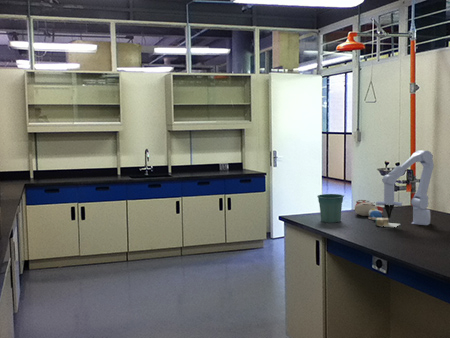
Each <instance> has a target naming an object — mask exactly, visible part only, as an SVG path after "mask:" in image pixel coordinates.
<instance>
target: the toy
mask: <svg viewBox="0 0 450 338" xmlns="http://www.w3.org/2000/svg"><path fill="white" fill-rule="evenodd" d="M355 202H356V204H355V206H354V211H355V213H356V214H358V215H359V216H363V217H368V219H369V220H372V221H373V220H374V221H376V218H383V217H382V216H383V213H384V208H383V207H382V206H381V205H376V204H375V203H376V202H375V201H374V200H366V199H357V200H356V201H355Z"/></svg>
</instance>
